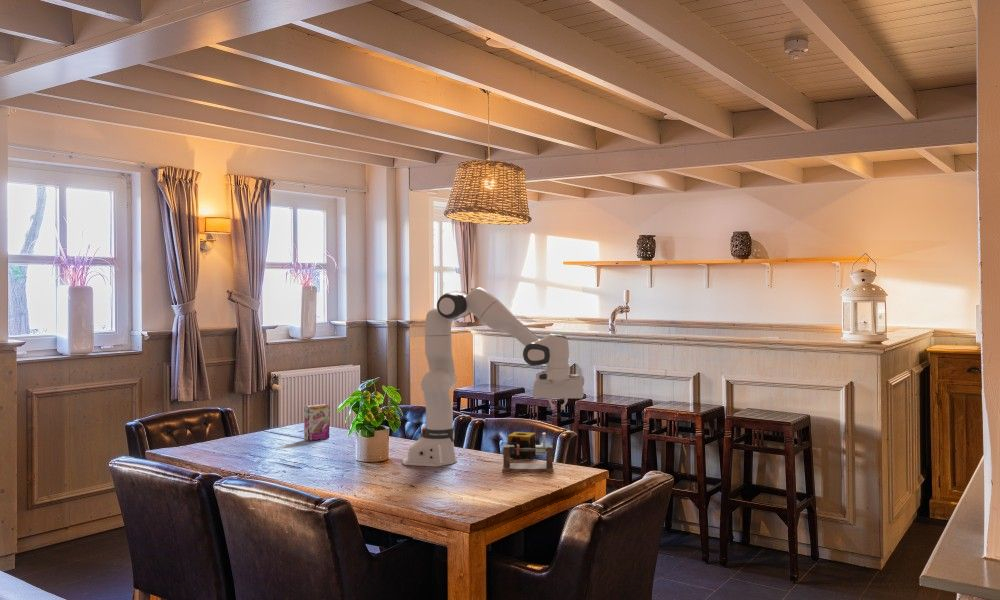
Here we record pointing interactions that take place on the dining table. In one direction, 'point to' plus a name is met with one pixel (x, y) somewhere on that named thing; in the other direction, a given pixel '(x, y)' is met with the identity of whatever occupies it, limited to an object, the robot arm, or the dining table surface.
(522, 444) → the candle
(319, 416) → the candy bar box
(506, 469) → the rod stand
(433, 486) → the dining table surface
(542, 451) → the sleeve
